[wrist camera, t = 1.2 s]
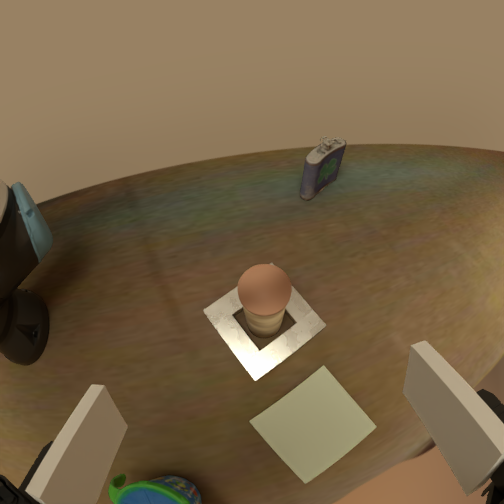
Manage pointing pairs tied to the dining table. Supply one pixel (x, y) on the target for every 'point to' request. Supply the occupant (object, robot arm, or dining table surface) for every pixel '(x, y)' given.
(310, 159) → the flask
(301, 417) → the mat
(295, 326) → the socket
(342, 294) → the dining table surface
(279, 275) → the plug
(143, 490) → the snack cup
